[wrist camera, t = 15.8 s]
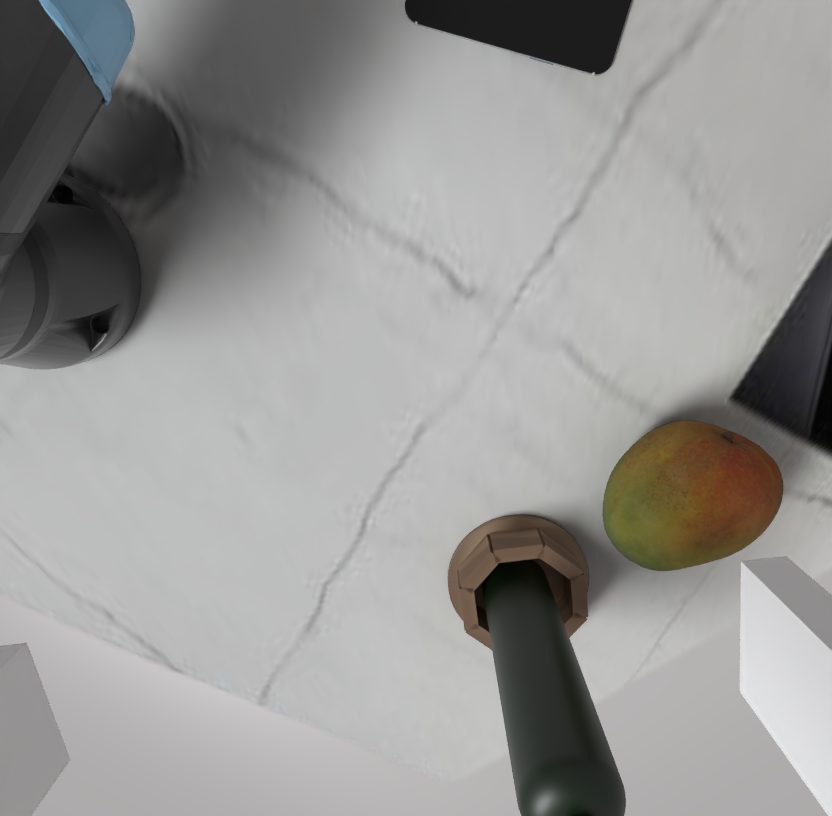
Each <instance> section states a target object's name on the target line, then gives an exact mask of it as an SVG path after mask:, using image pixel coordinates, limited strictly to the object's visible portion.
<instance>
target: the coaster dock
mask: <svg viewBox="0 0 832 816" xmlns="http://www.w3.org/2000/svg"><path fill="white" fill-rule="evenodd" d="M528 559H531V560H533V561H534V562H536V563H537V564H538V565H540V566H541V568H542V569H543V570H544V572H545V574H546V577H547V579H548V582H549V585H550V587H551V590H552V593H553V596H554V598H555V601H556V604H557V606H558V609H559V612H560V615H561V617H562V620H563V623H564V625H565V628H566V631H567V634H568V636H569V638H570V636H571V635H572V634H573V633H574V632H575V631H576V630H577V629H578V628H579V627H580V626H581V625H582V624H583V623H584V622H585V621H586V620H587V618H586V617H588V608H587V595H586V594H587V591H588V585H589V573H588V566H587V563H586V560H585V557H584V555H583V553H582V551H581V549H580V547H579V546H578V544H577V543H576V541H575V540H574V539H573V538H572V536H571V535H570V534H569V533H568V532H566V531H565V530H564V529H563V528H561V527H560V526H558V525H557V524H555V523H553V522H551V521H548V520H546V519H543V518H540V517H535V516H530V515H509V516H504V517H499V518H496V519H493V520H490V521H488V522H486V523H484V524H482V525H480V526H479V527H477V528H475V529H474V530H473V531H472V532H470V533H469V534H468V535H467V536H466V537H465V538H464V539H463V540H462V541H461V543H460V544H459V545H458V547H457V549H456V550H455V552H454V554H453V556H452V559H451V562H450V566H449V570H448V587H449V594H450V599H451V601H452V604H453V606H454V608H455V610H456V612H457V613H458V615H459V616H460V617H461V619H462V620H463V621H464V628H465V630H466V633H467V634H469V635H470V636H472V637H473V638H475V639H476V640H478V641H479V642H481V643H482V644H484V645H485V646H487V647H488V648H490V649H491V650H492V645H491V639H490V633H489V627H488V621H487V615H486V608H485V602H484V596H483V590H482V582H483V580H484V579H485V578H486V577H487V576H488V575H489V574H490V573H491V571H492V570H493V569H494V568H495V567H496V566H497V565H498V564H499V563H503V562H511V561H520V560H528Z"/></svg>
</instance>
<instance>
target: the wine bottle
mask: <svg viewBox="0 0 832 816" xmlns="http://www.w3.org/2000/svg"><path fill="white" fill-rule="evenodd" d="M482 590H483V596H484V602H485V608H486V615H487V621H488V627H489V633H490V639H491V645H492V651H493V657H494V663H495V669H496V675H497V681H498V687H499V693H500V699H501V705H502V711H503V717H504V723H505V730H506V736H507V742H508V748H509V754H510V759H511V765H512V772H513V778H514V784H515V790H516V796H517V802H518V807H519V810H520V813H521V816H624V813H625V806H626V798H625V790H624V786H623V783H622V780H621V777H620V774H619V772H618V769H617V766H616V764H615V761H614V758H613V756H612V753H611V750H610V747H609V745H608V742H607V740H606V737H605V734H604V731H603V728H602V726H601V723H600V720H599V718H598V715H597V712H596V709H595V707H594V704H593V701H592V699H591V696H590V693H589V690H588V688H587V685H586V682H585V680H584V677H583V674H582V671H581V669H580V666H579V663H578V661H577V658H576V655H575V653H574V650H573V647H572V644H571V642H570V639H569V636H568V634H567V631H566V628H565V625H564V623H563V620H562V617H561V615H560V612H559V609H558V606H557V604H556V601H555V598H554V596H553V593H552V590H551V587H550V585H549V582H548V579H547V577H546V574H545V572H544V570H543V569H542V568H541V566H540V565H538V564H537V563H536V562H534V561H533V560H531V559H528V560H520V561H511V562H503V563H499V564H498V565H497V566H496V567H495V568H494V569H493V570H492V571H491V573H490V574H489V575H488V576H487V577H486V578H485V579H484V580H483V582H482Z"/></svg>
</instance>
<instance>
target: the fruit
mask: <svg viewBox="0 0 832 816" xmlns="http://www.w3.org/2000/svg"><path fill="white" fill-rule="evenodd" d="M782 495H783V480H782V476H781V472H780V470H779V468H778V466H777V464H776V463H775V461H774V460H773V458H771V457H770V456H769V455H768V454H767V453H766V452H765V451H764V450H763V449H762V448H761V447H760V446H758V445H757V444H755V443H754V442H752V441H750V440H748V439H747V438H745V437H743V436H741V435H738V434H736V433H733V432H731V431H728V430H725V429H723V428H720V427H717V426H714V425H710V424H707V423H703V422H697V421H678V422H673V423H669V424H666V425H663V426H661V427H658V428H656V429H654V430H652V431H651V432H649V433H648V434H646V435H645V436H643V437H642V438H641V439H640V440H638V441H637V442H636V443H635V444H634V445H633V446H631V448H630V449H629V450H628V451H627V452H626V453H625V454H624V455H623V456H622V458H621V459H620V460H619V461H618V463H617V464H616V466H615V467H614V469H613V471H612V473H611V475H610V477H609V480H608V483H607V486H606V490H605V494H604V501H603V521H604V527H605V531H606V533H607V535H608V537H609V539H610V540H611V542H612V544H613V545H614V546H615V547H616V549H617V550H618V551H619V552H621V553H622V554H623V555H624V556H625V557H626V558H628V559H629V560H631V561H632V562H634V563H636V564H638V565H640V566H642V567H644V568H647V569H651V570H657V571H670V570H678V569H683V568H687V567H691V566H696V565H700V564H704V563H708V562H711V561H715V560H718V559H722V558H725V557H727V556H730V555H732V554H734V553H736V552H738V551H740V550H742V549H743V548H745V547H746V546H748V545H749V544H750V543H752V542H753V541H754V540H756V539H757V538H758V537H759V536H760V535H761V534H762V533H763V532H764V531H765V530H766V529H767V527H768V526H769V525H770V523H771V522H772V521H773V519H774V517H775V515H776V514H777V512H778V509H779V507H780V504H781V501H782Z"/></svg>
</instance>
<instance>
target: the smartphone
mask: <svg viewBox="0 0 832 816" xmlns="http://www.w3.org/2000/svg"><path fill="white" fill-rule="evenodd" d="M630 3H631V0H406V2H405V11H406V15H407V17H408V18H409V20H410V21H411V22H412V23H414V24H416V25H419V26H422V27H426V28H429V29H433V30H436V31H440V32H443V33H447V34H450V35H454V36H457V37H461V38H464V39H468V40H471V41H475V42H478V43H482V44H485V45H489V46H492V47H495V48H499V49H502V50H506V51H509V52H513V53H516V54H520V55H523V56H527V57H530V58H531V59H534V60H538V61H541V62H545V63H548V64H552V65H553V64H555V65H558V66H562V67H565V68H569V69H572V70H576V71H579V72H583V73H586V74H589V75H600V74H602V73H604V72H605V71H606V70H607V69H608V68H609V67H610V65H611V63H612V61H613V58H614V54H615V51H616V48H617V45H618V42H619V38H620V35H621V32H622V29H623V25H624V22H625V19H626V16H627V12H628V9H629V6H630Z"/></svg>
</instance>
